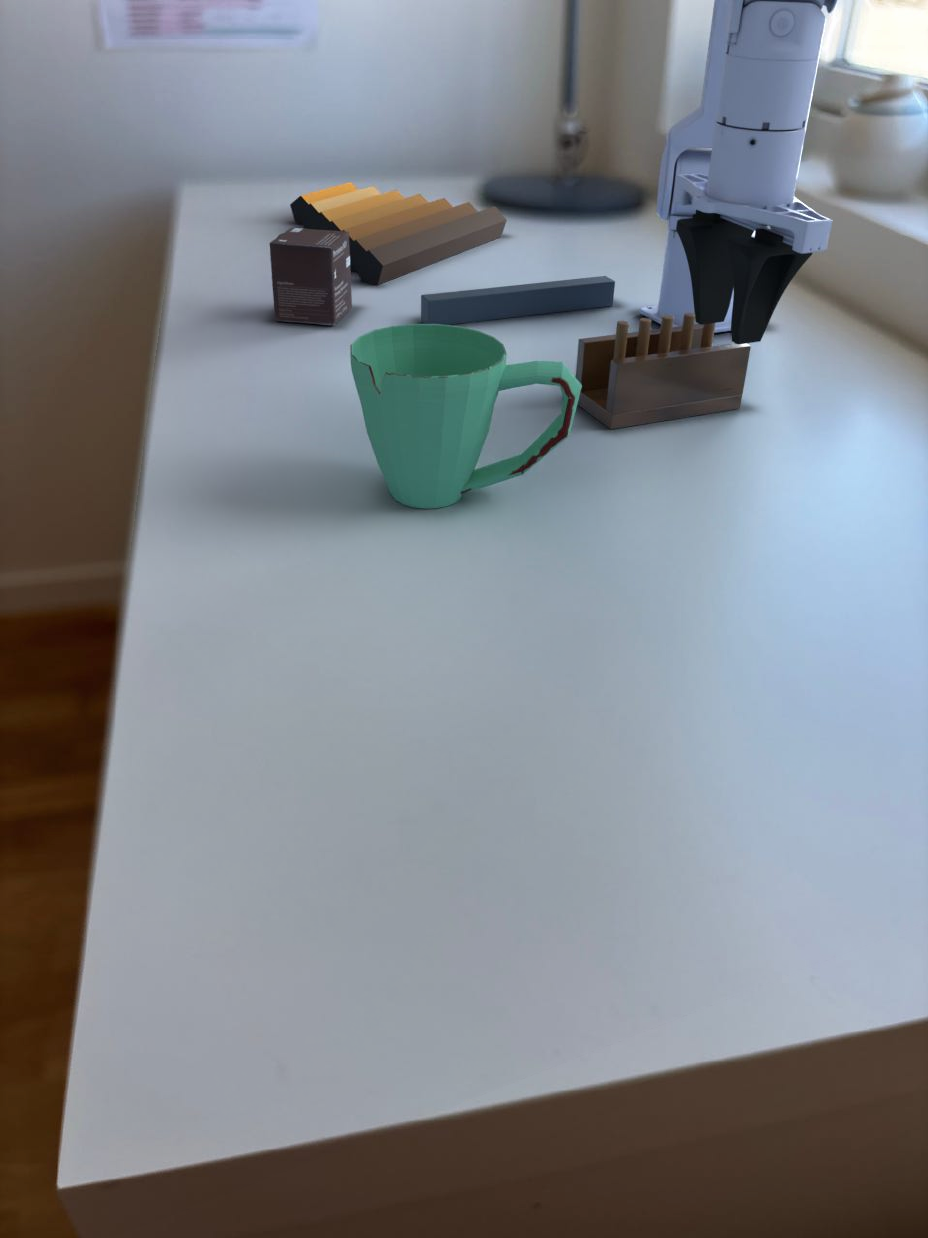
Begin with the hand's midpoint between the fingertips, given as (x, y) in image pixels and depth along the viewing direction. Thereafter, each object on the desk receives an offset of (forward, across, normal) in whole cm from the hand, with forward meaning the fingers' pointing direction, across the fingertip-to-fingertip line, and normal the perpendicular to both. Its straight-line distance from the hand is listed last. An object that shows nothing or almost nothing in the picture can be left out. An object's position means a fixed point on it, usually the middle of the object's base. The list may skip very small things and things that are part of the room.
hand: (727, 331), depth 78 cm
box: (+9, -38, -19) cm, 44 cm away
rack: (+8, -8, 0) cm, 11 cm away
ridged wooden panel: (+9, -62, -6) cm, 63 cm away
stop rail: (+8, -32, 0) cm, 34 cm away
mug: (+9, +2, -21) cm, 23 cm away
